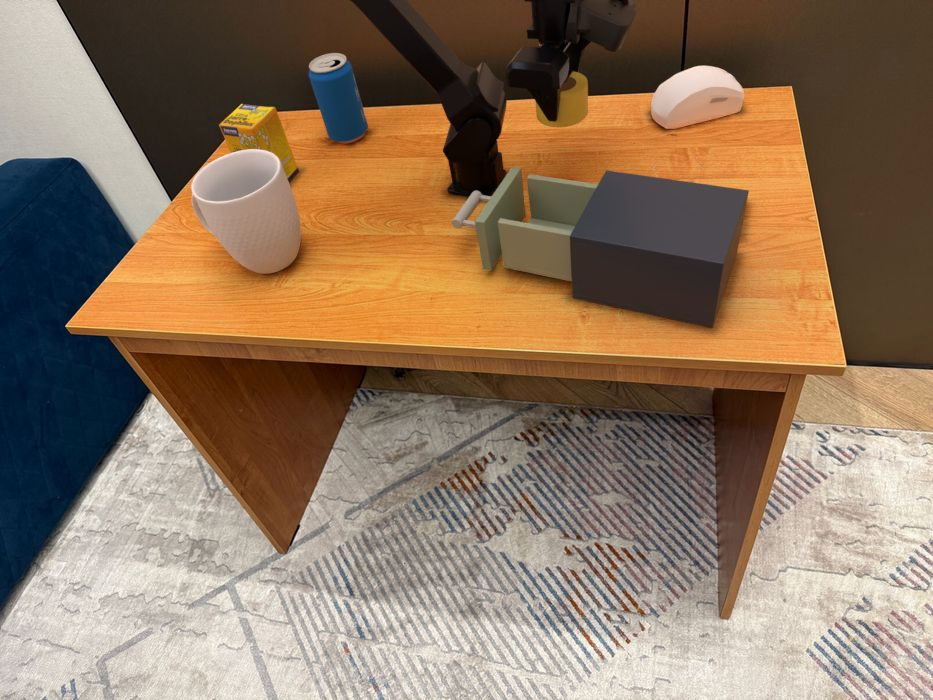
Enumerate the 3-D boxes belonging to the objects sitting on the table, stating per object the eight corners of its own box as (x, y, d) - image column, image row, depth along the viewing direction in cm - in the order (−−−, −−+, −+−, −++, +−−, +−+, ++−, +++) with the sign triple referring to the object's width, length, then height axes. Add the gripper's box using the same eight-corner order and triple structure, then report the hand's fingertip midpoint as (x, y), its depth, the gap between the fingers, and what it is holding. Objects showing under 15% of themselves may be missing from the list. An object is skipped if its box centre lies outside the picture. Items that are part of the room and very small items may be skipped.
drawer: (448, 262, 85) (437, 214, 80) (484, 208, 91) (477, 161, 86) (599, 294, 78) (599, 243, 72) (628, 233, 84) (629, 183, 79)
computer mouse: (747, 111, 99) (755, 69, 94) (660, 133, 99) (663, 92, 94) (727, 90, 103) (732, 49, 99) (643, 111, 103) (645, 71, 98)
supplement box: (246, 190, 104) (217, 125, 96) (268, 167, 108) (241, 102, 100) (279, 195, 102) (251, 128, 94) (300, 171, 106) (275, 105, 98)
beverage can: (366, 143, 108) (346, 69, 99) (326, 148, 109) (302, 75, 100) (371, 121, 113) (351, 49, 104) (332, 126, 113) (309, 54, 104)
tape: (529, 125, 86) (526, 94, 84) (546, 98, 90) (544, 68, 87) (578, 130, 84) (578, 99, 81) (594, 102, 88) (594, 72, 85)
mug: (193, 274, 92) (146, 193, 83) (239, 223, 99) (200, 142, 89) (286, 292, 87) (247, 207, 78) (329, 236, 94) (297, 152, 84)
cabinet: (572, 297, 79) (569, 235, 73) (605, 232, 86) (605, 169, 79) (712, 328, 73) (723, 263, 67) (736, 255, 80) (749, 190, 73)
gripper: (603, 14, 67) (603, 155, 78) (652, -60, 77) (645, 74, 89) (496, 10, 71) (511, 145, 82) (556, -60, 81) (562, 68, 93)
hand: (561, 106), depth 86 cm, fingers closed on tape, 6 cm apart
